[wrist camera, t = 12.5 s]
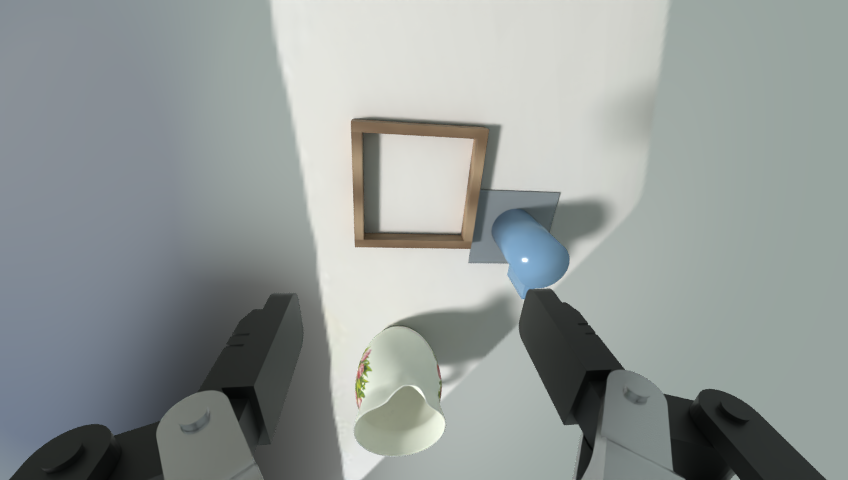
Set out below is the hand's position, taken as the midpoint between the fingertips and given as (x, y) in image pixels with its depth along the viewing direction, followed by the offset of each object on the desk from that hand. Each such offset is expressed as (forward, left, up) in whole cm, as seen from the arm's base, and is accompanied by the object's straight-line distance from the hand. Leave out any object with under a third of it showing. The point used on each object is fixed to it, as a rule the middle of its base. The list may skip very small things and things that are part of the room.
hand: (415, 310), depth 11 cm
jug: (+10, +15, -26) cm, 32 cm away
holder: (+4, +2, -27) cm, 27 cm away
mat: (+9, +15, -27) cm, 32 cm away
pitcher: (+29, +1, -27) cm, 39 cm away
